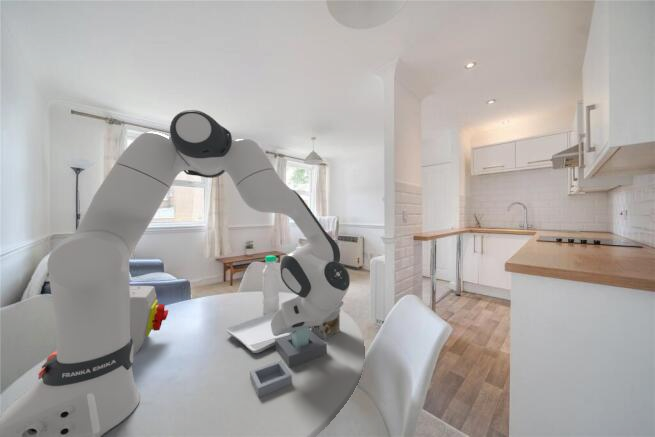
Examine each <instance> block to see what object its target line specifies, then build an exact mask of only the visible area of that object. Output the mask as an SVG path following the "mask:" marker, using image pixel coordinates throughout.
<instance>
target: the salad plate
mask: <svg viewBox="0 0 655 437" xmlns="http://www.w3.org/2000/svg"><path fill="white" fill-rule="evenodd" d="M276 313H277V312H273V313H270V314H267V315H265V314H263V315H261V316H258V317H254V318H252V319H248V320H246V321H243V322H240V323H237V324H234V325H232V326H228V327H227V328H225V331H226V333H228V335H230V336H232V337H234V338H235V339H236V340H237V341H239V343H241V344H243V346H245V347H246V348H247V349H248V350H249V351H251V353H253V354H259V353H261V352H264V351H266V350H268V349H270V348H273V347H275V340H274V341H272V342H270V343H268V344H266V345H264V346H262V347H260V348H258V349H255V348H254V347H253V346H252V345H255V344H258V343H261V342H265V341H269V340H272V339H277V338H281V337H284V336H288V335H291V334H289V333H285V334H282V335H278V336H274V335H273V333H272V329H271V321H272V319H273V317H274V316H275V314H276Z"/></svg>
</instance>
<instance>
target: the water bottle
mask: <svg viewBox="0 0 655 437" xmlns="http://www.w3.org/2000/svg"><path fill="white" fill-rule="evenodd" d="M264 262H265V266H264V268H263V270H262V313H263V315H267V314H270V313H273V312H278V311H279V310H280V296H279V295H280V279H279V278H280V276H279V275H280V272H279V271H280V269H278V268H279V267H278V266H277V264H276V262H277V256H276V255H271V254H270V255H266V256H265V258H264Z"/></svg>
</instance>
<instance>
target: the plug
mask: <svg viewBox="0 0 655 437" xmlns="http://www.w3.org/2000/svg"><path fill="white" fill-rule="evenodd" d="M308 330H309V329H308V327H307V328H303V329H300V330H296V332H295V333H293V334H292V346H293V347H294V348H298V347H301V346H304V345H307V344H309V336H308Z"/></svg>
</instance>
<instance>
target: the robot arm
mask: <svg viewBox="0 0 655 437" xmlns="http://www.w3.org/2000/svg"><path fill="white" fill-rule="evenodd" d="M169 134H170V135H169V136H167V135H165V134H162V133H159V132H155V131H146V132H143V133H141V134H140V135H138V136H137V137H136V138H135V139H134V140H133V141H132V142H131V143H130V144H129V145H128V146H127V147H126V149H125V150H124V151H123V152H122V153H121V155H120V156H119V157H118V159H117V160H116V161H115V164H113V166H112V168H111V169H110V171H109V172H108V173H107V175H106V176H105V178H104V179H103V181H102V183H101V184H100V186H99V188H98V189H97V190H96V192H95V194H94V195H93V197H92V200H91V202H90V204H89V206H88V208H87V210H86V212H85V214H84V215H83V217H82V219H81V221H80V223H79V225H78V226H77V228H76V230H75V231H74V233H73V235H70V236H68V237H66V238H64V239H63V240H61V241H60V242H58V243H57V244H56V245H55V246H54V247H53V249H52V250H51V252H50V254H49V256H48V259H47V264H46V266H47V273H48V278H49V286H50V295H51V299H52V304H53V309H54V314H55V319H56V320H55V321H56V322H55V324H56V325H55V326H56V331H55V332H56V337H55V338H56V350H55V351H53V352H52V353H51V354H50V355H49V356H48V357H47V358H46V361H45V362H44V363H43V364H42V366H41V370H39V371H38V373H37V375H38V377H37V379H38V380H40V381H39V382H37V383H36V384H34V385H33V386H32V387H31V388H29V389H28V390H27V391H26V392H24V393H23V394H22V395H21V396H19V397H18V398H17V399H16V400H14V401H13V402H12V403H11V404H10V405H9V406H8V407H7V408H6V409H4V411H3V413H2V414H1V415H0V437H102V436H103V435H104V434H105V433H107V432H108V431H110V430H111V429H113V428H114V427H116V426H117V425H119V424H120V423H122V421H124V420H125V419H126V418H128V417H129V416H130V415H131V414H132V413H133V412H134V410H135V409H136V408H137V407H138V404H139V403H140V399H141V396H140V393H139V391H138V389H137V387H136V382H135V379H134V373H133V367H132V365H133V362H134V355H133V353H134V350H133V340H132V338H131V337H130V286H131V285H130V258H131V256H132V254H133V253H134V250H135V249H136V248H137V245H138V243H139V242H140V240H141V238H142V237H143V235H144V234H145V232H146V231H147V229H148V227H149V225H150V223H151V222H152V221H153V219H154V217H155V215H156V214H157V211H158V210H159V208H160V206H161V204H162V203H163V201H164V199H165V198H166V196H167V194H168V192H169V191H170V188H171V187H172V185H173V183H174V182H175V179H176V178H177V176H178V175H179V174H181V173H182V172H184V173H185V174H186V175H190V176H196V177H202V178H209V179H213V178H218V177H221V176H222V175H223V174H225V172H226V173H227V174H228V175H229V177H230V178H231V179H232V181H233V184H234V186H235V187H236V190H237V192H238V193H239V197H241V199H242V201H243V203H245V204H246V205H247V206H248V207H249V208H250V209H252V210H254V211H257V212H260V213H268V214H269V213H271V214H280V215H285V216H287V217H289V218H290V219H291V220H292V221H293V222H294V224H296V226H297V228H299V230H300V232H301V233H302V234H303V235H304V237H305V238H306V240H307V243H306V244H304V245H301V246H300V247H298V248H296V249H295V250H292V251H291V252H290V253H288V254H286V255H284V256H283V257H282V258H281V262H280V269H279V271H280V277H281V280H282V282H283V283H284V284H285V287H286V288H288V290H290V291H291V292H292V293H294V294H295V295H297V296H296V297H293V298H291V299H288V300H285V301H283V302H282V303H281V304H280V308H281V309H280V308H279V311H278V312H277V313H276V314H275V316H274V317H273V319H272V321H271V329H272V333H273V335H274V336H278V335H282V334H285V333H289V334H293V333H295V332H296V330H300V329H303V328H307V327H308V330H309V329H310V330H311V327H312V326H318V325H321V324H323V323H325V322H328V321H332V320H334V319H335V318H336V317H337V316H338V314H339V313H340V312H341V308H342V306H343V305H344V301H343V300H344V298H345V297H346V295H347V293H348V291H349V287H350V283H351V277H350V274H349V271H348V269H347V268H346V267H345V266H344V265H343V264H342V263H340V261H341V252H340V250H341V249H340V247H339V244H338V243H337V242H336V241H335V240H334V239H333V238H332V237H331V236H330V235H329V234H328V232H327V231H326V230H325V229H324V227H323V226H322V225H321V223H320V221H319V220H318V219H317V217H316V216H315V215H314V212H312V210H311V209H310V207H309V206H308V204H307V203H306V201H305V200H304V199H303V198H302V197H301V195H300V194H299V193H298V192H297V191H295V190H293V189H292V188H290V187H289V186H288V185H287V184H286V183H285V182H284V181H283V180H282V179H281V177H280V175H278V173H277V171H276V169H275V167H274V166H273V164H272V162H271V161H270V159H269V157H268V156H267V154H266V153H265V152H264V151H263V149H262V148H261V147H260V145H259V144H258V143H257V142H256V141H254V140H252V139H250V138H240V139H236V140H235V139H234V140H233V138H232V137H233V136H232V133H231V132H230V131H229V130H228V129H227V128H225V127H224V126H222V125H221V124H220V123H218V122H217V121H216V120H215V119H214V118H213V117H212V116H210V114H207V113H205V112H203V111H200V110H196V109H189V110H184V111H180V112H179V113H177V114H176V115H175V116H174V117H173V119H172V120H171V123H170V125H169ZM340 314H341V313H340ZM289 334H288V335H289Z"/></svg>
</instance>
